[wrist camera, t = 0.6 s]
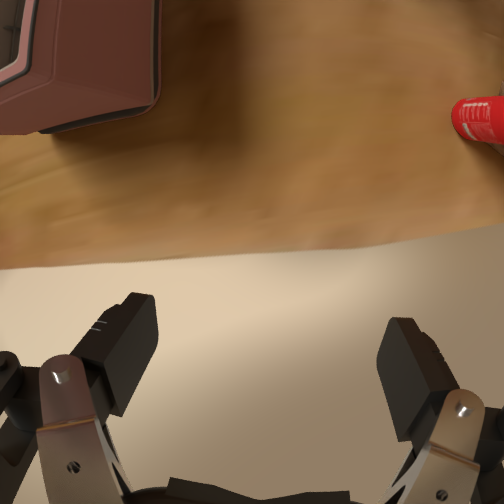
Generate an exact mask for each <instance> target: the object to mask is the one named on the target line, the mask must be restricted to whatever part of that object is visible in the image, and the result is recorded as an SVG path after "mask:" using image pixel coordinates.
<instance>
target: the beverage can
mask: <svg viewBox="0 0 504 504" xmlns="http://www.w3.org/2000/svg"><path fill="white" fill-rule="evenodd" d="M451 119H452V124H453V126H454V128H455V130H456V131H457V132H458V133H459V134H460V135H461V136H463V137H464V138H466V139H468V140H474V141H482V142H489V143H496V144H502V145H504V96H492V97H479V98H468V99H462V100H460V101H459V102H458V103H457V104H456V105H455V106H454V107H453V109H452V113H451Z"/></svg>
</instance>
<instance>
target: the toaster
mask: <svg viewBox="0 0 504 504" xmlns="http://www.w3.org/2000/svg"><path fill="white" fill-rule="evenodd" d="M161 25H162V0H0V135H27V134H30V133H33V132H36V131H38V132H39V133H41V134H52V133H60V132H64V131H68V130H72V129H76V128H80V127H85V126H89V125H94V124H98V123H103V122H108V121H113V120H118V119H124V118H130V117H135V116H139V115H142V114H144V113H147V112H148V111H149V110H150V109H151V108H152V107H153V106H155V104H156V102H157V100H158V98H159V97H160V92H161V86H162V80H161Z"/></svg>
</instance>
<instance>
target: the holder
mask: <svg viewBox="0 0 504 504" xmlns="http://www.w3.org/2000/svg"><path fill="white" fill-rule="evenodd" d="M499 96H504V81H502V85H501V89H500V93H499ZM486 143H488V144H489V145H490V146H491V147H492V148H494V149H495V150H496V151H497V152H498V153H500V154H501V155H502V156H503V157H504V145H502V144H496V143H489V142H486Z"/></svg>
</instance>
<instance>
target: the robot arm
mask: <svg viewBox="0 0 504 504" xmlns="http://www.w3.org/2000/svg"><path fill="white" fill-rule="evenodd" d="M157 344H158V324H157V316H156V307H155V299H154V297H153V295H148V294H141V293H134V292H132V293H130V294H129V295H128V297H127V298H126V299H125V300H124V302H123V303H122V304H121V305H119V304H116V305H114V306H113V307H111V308H109V309H107V310H106V311H104V313H103V314H102V315H101V316H100V317H99V319H98V320H97V322H95V323H94V325H93V326H92V327H91V329H89V331H88V332H87V333H86V335H85V336H84V337H83V338H82V339H81V341H80V342H79V343H78V344H77V346H76V347H75V348H74V350H73V351H72V352H71V353H70V354H69V355H67V354H65V355H58V356H54V357H52V358H50V359H48V360H47V361H46V362H45V363H43V365H42V366H41V367H26V366H25V367H24V366H21V365H20V362H19V360H18V358H17V356H16V355H15V354H14V353H12V352H9V351H1V352H0V415H1V414H2V412H3V411H5V413H6V414H7V416H8V417H7V419H6V420H5V422H4V424H3V425H2V427H1V428H0V504H12V503H13V501H14V498H15V496H16V494H17V491H18V489H19V487H20V485H21V483H22V481H23V479H24V477H25V474H26V472H27V470H28V468H29V466H30V464H31V462H32V460H33V458H34V456H35V454H36V452H37V450H38V451H39V457H40V463H41V468H42V474H43V479H44V483H45V487H46V492H47V497H48V500H49V504H362V503H358V502H354V501H350V494H349V491H337V492H305V493H300V494H296V495H290V496H285V497H279V498H273V499H267V500H257V499H252V498H250V497H246V496H243V495H240V494H237V493H234V492H231V491H228V490H226V489H223V488H220V487H217V486H215V485H209V484H203V483H198V482H192V481H187V480H182V479H177V478H173V477H170V479H169V483H168V486H167V487H152V488H146V489H141V490H137V491H133V489H132V486H131V484H130V482H129V481H128V478H127V477H126V474H125V472H124V470H123V468H122V465H121V462H120V460H119V457H118V455H117V452H116V449H115V446H114V444H113V441H112V438H111V435H110V432H109V429H108V426H107V424H106V420H107V418H108V416H109V414H112V415H115V416H119V417H122V416H123V414H124V412H125V410H126V408H127V406H128V403H129V401H130V399H131V397H132V395H133V393H134V391H135V389H136V387H137V385H138V383H139V381H140V379H141V377H142V375H143V373H144V371H145V369H146V367H147V365H148V363H149V361H150V359H151V357H152V355H153V354H154V352H155V350H156V347H157ZM377 370H378V374H379V377H380V380H381V383H382V386H383V390H384V393H385V396H386V399H387V403H388V406H389V410H390V413H391V417H392V420H393V424H394V427H395V431H396V435H397V439H398V442H402V441H411V442H412V445H413V446H412V447H411V449H410V450H409V451H408V454H407V455H406V457H405V459H404V461H403V463H402V464H401V466H400V468H399V470H398V472H397V474H396V475H395V477H394V479H393V480H392V482H391V484H390V485H389V487H388V489H387V490H386V492H385V493H384V494H383V496H382V497H381V498H380V500H379V501H378V502H377V503H376V504H469V502H471V504H504V468H503V465H502V461H503V460H504V406H503V408H502V409H498V408H490V407H484V404H483V402H482V400H481V399H480V398H479V397H478V396H477V395H476V394H474V393H473V392H471V391H469V390H465V389H460V387H459V385H458V384H457V381H456V380H455V378H454V376H453V374H452V372H451V370H450V369H449V366H448V365H447V363H446V362H445V361H444V357H443V356H442V354H441V353H440V350H439V349H438V347H437V345H436V344H435V342H434V341H433V340H432V339H431V338H430V337H429V336H428V335H427V334H426V333H424V332H421V331H420V329H419V327H418V326H417V324H416V322H415V321H414V319H412V318H401V317H399V318H398V317H392V318H391V319H390V320H389V322H388V325H387V328H386V331H385V334H384V337H383V340H382V343H381V345H380V348H379V351H378V355H377Z"/></svg>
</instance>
